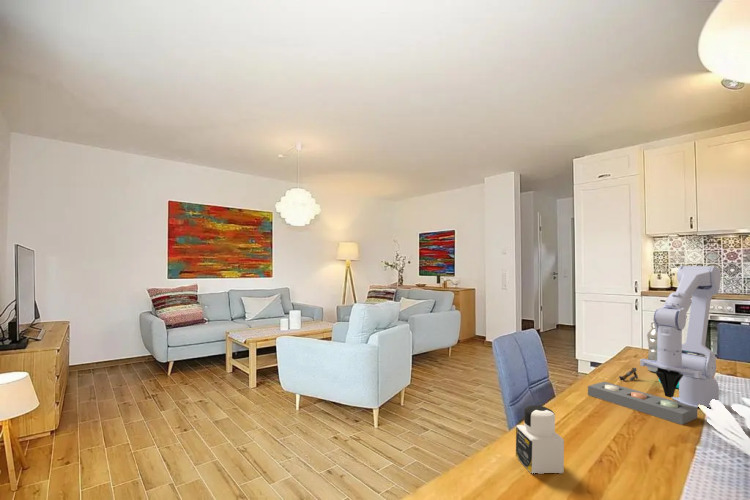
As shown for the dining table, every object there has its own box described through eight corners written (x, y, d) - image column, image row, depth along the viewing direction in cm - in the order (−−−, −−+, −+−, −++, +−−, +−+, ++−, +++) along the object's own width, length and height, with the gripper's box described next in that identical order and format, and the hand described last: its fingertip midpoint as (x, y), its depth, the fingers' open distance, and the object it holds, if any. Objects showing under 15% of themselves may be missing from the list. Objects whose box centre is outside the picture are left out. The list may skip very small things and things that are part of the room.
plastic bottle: (662, 370, 159) (662, 322, 159) (669, 375, 152) (669, 325, 153) (644, 369, 161) (644, 321, 161) (649, 373, 154) (650, 323, 155)
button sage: (680, 413, 111) (680, 403, 111) (674, 415, 109) (674, 406, 109) (664, 408, 114) (664, 399, 114) (657, 410, 112) (657, 401, 112)
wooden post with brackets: (641, 377, 145) (637, 367, 145) (626, 387, 143) (623, 377, 143) (636, 376, 147) (633, 365, 147) (622, 386, 145) (618, 375, 144)
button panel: (697, 417, 110) (697, 407, 110) (682, 424, 105) (682, 413, 105) (604, 390, 132) (604, 381, 132) (587, 394, 127) (587, 385, 127)
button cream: (621, 395, 124) (621, 387, 125) (614, 397, 122) (615, 389, 122) (608, 391, 128) (608, 383, 128) (602, 393, 126) (602, 385, 126)
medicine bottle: (515, 456, 85) (516, 402, 85) (545, 456, 86) (546, 402, 86) (530, 474, 78) (531, 415, 78) (564, 474, 79) (564, 415, 79)
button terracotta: (649, 403, 118) (649, 395, 118) (642, 406, 116) (642, 397, 116) (634, 399, 121) (634, 391, 121) (628, 401, 119) (628, 393, 119)
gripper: (635, 345, 116) (635, 390, 116) (694, 356, 104) (694, 407, 103) (646, 343, 120) (646, 387, 119) (704, 354, 107) (704, 402, 107)
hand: (669, 396), depth 112 cm, fingers closed
